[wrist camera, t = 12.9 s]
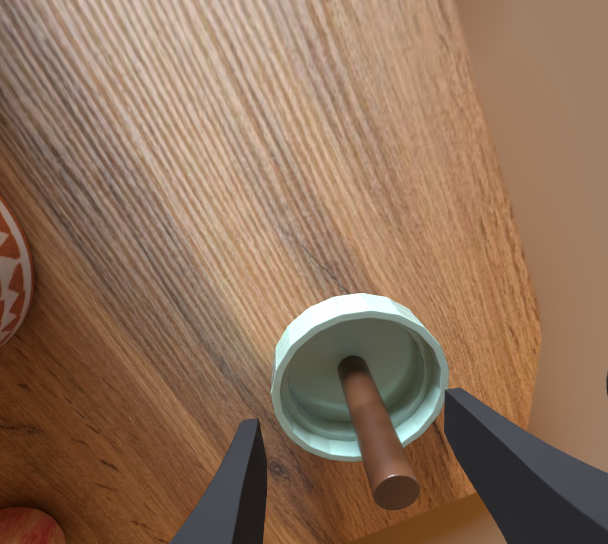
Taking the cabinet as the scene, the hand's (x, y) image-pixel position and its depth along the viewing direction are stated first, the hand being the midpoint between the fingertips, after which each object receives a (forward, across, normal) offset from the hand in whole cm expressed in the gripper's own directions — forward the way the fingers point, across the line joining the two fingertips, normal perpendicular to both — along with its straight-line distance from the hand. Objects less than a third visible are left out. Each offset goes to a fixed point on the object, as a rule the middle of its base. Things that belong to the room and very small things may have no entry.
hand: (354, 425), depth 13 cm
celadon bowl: (+10, -2, +4) cm, 10 cm away
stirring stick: (+9, -2, +4) cm, 10 cm away
